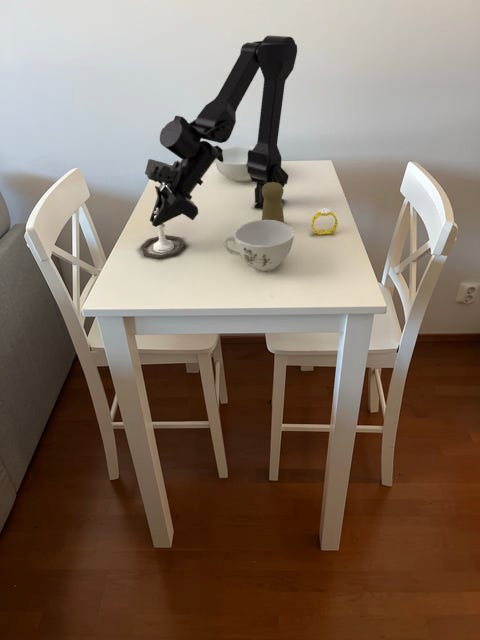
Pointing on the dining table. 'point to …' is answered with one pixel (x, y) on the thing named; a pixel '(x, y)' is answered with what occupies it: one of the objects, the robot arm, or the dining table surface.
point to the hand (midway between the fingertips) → (152, 223)
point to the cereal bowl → (235, 163)
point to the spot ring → (162, 254)
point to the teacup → (262, 243)
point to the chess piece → (162, 240)
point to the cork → (272, 202)
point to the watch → (324, 213)
